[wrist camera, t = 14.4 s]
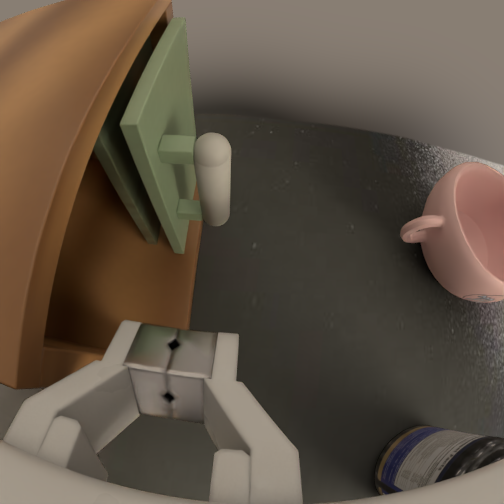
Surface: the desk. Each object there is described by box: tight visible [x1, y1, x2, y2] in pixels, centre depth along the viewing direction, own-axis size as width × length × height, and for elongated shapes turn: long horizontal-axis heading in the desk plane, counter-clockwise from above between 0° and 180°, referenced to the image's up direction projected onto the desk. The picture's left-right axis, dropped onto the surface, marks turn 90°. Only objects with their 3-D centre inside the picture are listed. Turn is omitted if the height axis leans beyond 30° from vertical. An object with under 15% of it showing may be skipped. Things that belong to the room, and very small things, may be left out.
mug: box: [400, 162, 504, 303], centre depth 19 cm, size 12×10×6 cm
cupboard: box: [0, 0, 203, 389], centre depth 13 cm, size 14×15×14 cm
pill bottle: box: [375, 425, 504, 495], centre depth 11 cm, size 6×6×11 cm
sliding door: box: [120, 18, 231, 254], centre depth 15 cm, size 3×6×11 cm, turn 176°
